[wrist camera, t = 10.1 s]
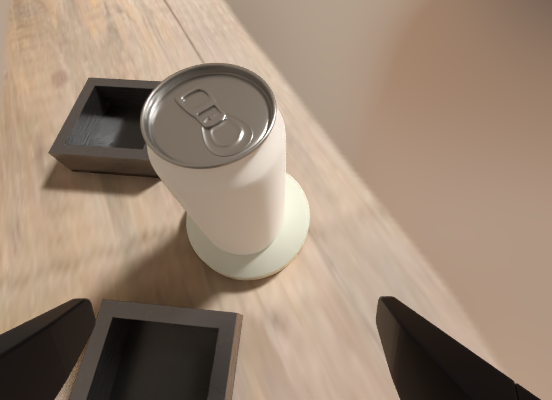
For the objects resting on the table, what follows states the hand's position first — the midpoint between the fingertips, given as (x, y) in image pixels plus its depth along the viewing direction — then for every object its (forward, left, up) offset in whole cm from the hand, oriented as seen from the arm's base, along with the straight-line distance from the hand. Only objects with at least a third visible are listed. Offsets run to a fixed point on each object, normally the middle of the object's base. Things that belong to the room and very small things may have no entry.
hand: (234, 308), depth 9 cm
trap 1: (+16, +15, -13) cm, 25 cm away
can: (+8, +2, -12) cm, 14 cm away
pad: (+8, +2, -13) cm, 15 cm away
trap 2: (-4, +6, -13) cm, 15 cm away
